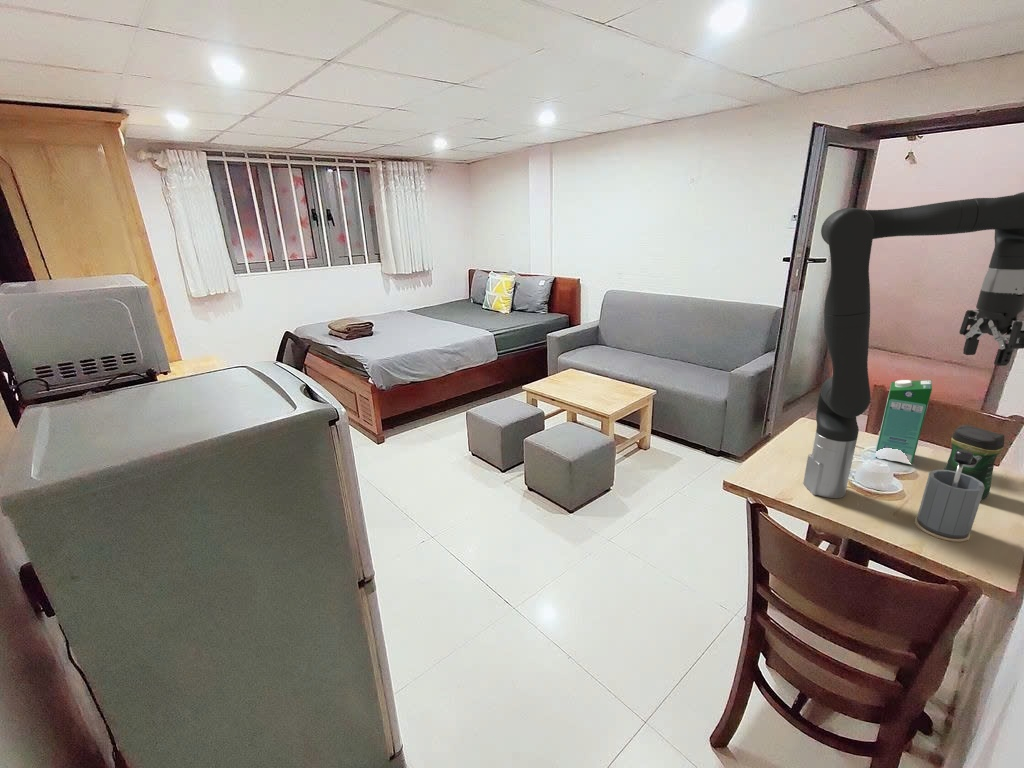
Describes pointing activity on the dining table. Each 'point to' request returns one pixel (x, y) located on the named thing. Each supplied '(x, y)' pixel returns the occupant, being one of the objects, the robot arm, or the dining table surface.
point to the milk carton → (904, 416)
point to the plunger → (961, 463)
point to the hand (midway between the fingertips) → (984, 359)
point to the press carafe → (949, 506)
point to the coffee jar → (977, 453)
